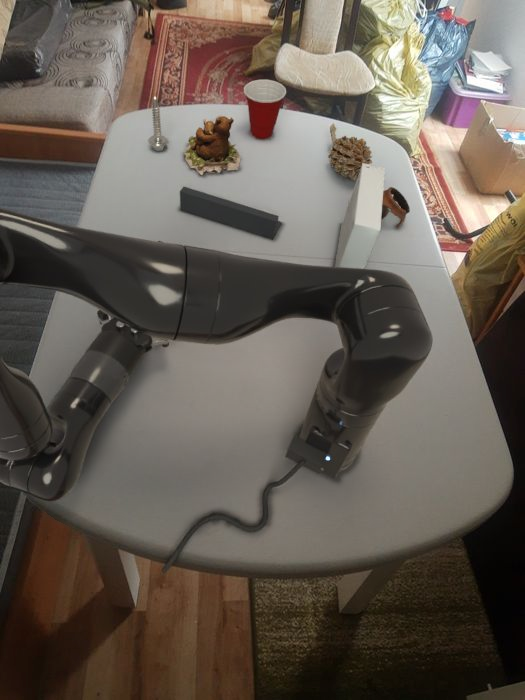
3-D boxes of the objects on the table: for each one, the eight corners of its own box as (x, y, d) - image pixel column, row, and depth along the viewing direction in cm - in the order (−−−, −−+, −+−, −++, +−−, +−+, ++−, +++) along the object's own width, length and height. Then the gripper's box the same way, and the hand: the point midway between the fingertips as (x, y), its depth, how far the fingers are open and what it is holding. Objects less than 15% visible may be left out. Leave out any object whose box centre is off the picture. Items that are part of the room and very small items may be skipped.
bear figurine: (229, 140, 127) (232, 92, 117) (245, 172, 119) (250, 124, 109) (178, 143, 123) (176, 95, 114) (191, 177, 115) (190, 128, 105)
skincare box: (357, 293, 97) (381, 230, 84) (331, 287, 97) (350, 223, 84) (364, 229, 110) (386, 166, 97) (341, 224, 110) (359, 161, 97)
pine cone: (374, 189, 120) (387, 152, 112) (340, 193, 117) (350, 156, 109) (338, 142, 132) (347, 106, 124) (306, 145, 129) (313, 108, 122)
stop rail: (272, 239, 104) (275, 221, 100) (180, 210, 107) (179, 191, 103) (281, 224, 108) (284, 205, 104) (191, 196, 111) (191, 176, 107)
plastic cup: (232, 129, 131) (235, 83, 121) (264, 120, 135) (268, 75, 126) (256, 148, 126) (261, 102, 116) (288, 138, 130) (295, 93, 121)
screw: (158, 155, 119) (144, 148, 121) (172, 148, 122) (158, 141, 123) (154, 102, 109) (139, 95, 110) (169, 96, 111) (154, 88, 113)
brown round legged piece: (365, 202, 117) (392, 179, 111) (390, 232, 118) (417, 210, 112) (348, 215, 108) (376, 190, 103) (375, 247, 109) (404, 224, 103)
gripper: (142, 369, 68) (194, 288, 78) (60, 339, 69) (120, 264, 80) (147, 397, 74) (194, 318, 84) (71, 368, 75) (126, 294, 86)
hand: (158, 292), depth 82 cm, fingers closed
